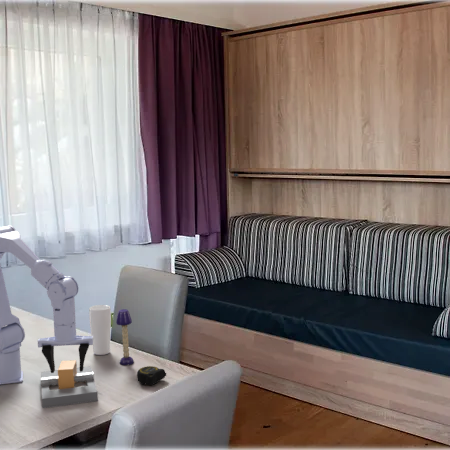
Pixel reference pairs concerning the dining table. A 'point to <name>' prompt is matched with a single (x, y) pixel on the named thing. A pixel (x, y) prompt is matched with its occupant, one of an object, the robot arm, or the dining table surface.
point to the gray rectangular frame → (68, 391)
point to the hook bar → (77, 378)
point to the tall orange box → (67, 374)
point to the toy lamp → (125, 335)
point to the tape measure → (150, 375)
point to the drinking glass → (100, 328)
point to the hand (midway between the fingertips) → (67, 370)
